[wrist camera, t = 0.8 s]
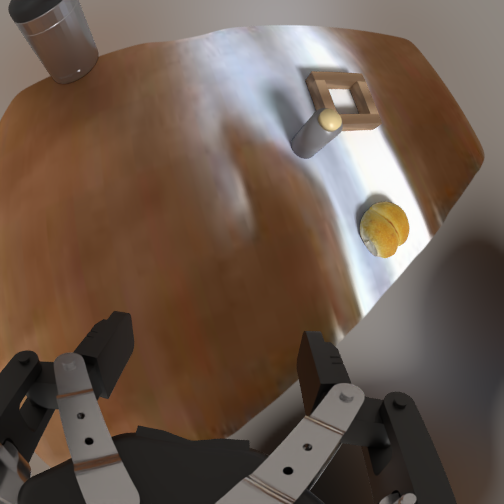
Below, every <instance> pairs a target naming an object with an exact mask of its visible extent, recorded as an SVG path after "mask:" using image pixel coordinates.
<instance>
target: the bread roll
mask: <svg viewBox="0 0 504 504" xmlns="http://www.w3.org/2000/svg"><path fill="white" fill-rule="evenodd" d="M408 234H409V223H408V219H407V216H406V214H405V212H404V211H403V210H402V209H401V208H400V207H399V206H398V205H396V204H393V203H390V202H378V203H376V204H373V205H372V206H371V207H370V208H369V210H367V211H366V212H365V214H364V215H363V217H362V220H361V223H360V236H361V238H362V240H363V241H364V244H365V246H366V247H367V248H368V250H369V251H370V252H371V253H372V254H373V255H374V256H377V257H382V258H388V257H390V256H392V255H394V254H395V252H396V250H397V247H398V246H400V245H402V244H403V243H404V242H405V241H406V240H407V237H408Z"/></svg>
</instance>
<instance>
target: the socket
mask: <svg viewBox="0 0 504 504" xmlns="http://www.w3.org/2000/svg"><path fill="white" fill-rule="evenodd" d="M306 84H307V86H308V89H309V92H310V95H311V97H312V100H313V103H314V106H315V109H316V111H317V110H318V109H321V108H328V109H333V110H335V111H336V108H335V106H334V103H333V100H332V98H331V95H330V92H329V90H328V89H350V91H351V94H352V96H353V99H354V101H355V104H356V107H357V109H358V112H359V114H339V115H340V116H341V119H342V124H343V127H342V131H354V130H373V129H375V128H376V127H378V126H379V125H380V124H382V122H381V119H380V116H379V114H378V111H377V108H376V106H375V103H374V101H373V98H372V96H371V93H370V91H369V89H368V86H367V84H366V82H365V79H364V77H363V75H362V74H359V73H344V72H315V71H312V72H311V73H310V75H309V76H308V78H307V79H306ZM336 112H337V111H336Z"/></svg>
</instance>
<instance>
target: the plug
mask: <svg viewBox="0 0 504 504" xmlns="http://www.w3.org/2000/svg"><path fill="white" fill-rule="evenodd" d="M342 127H343V124H342V119H341V116H340V115H339V114H338V113H337V112H336V111H335V110H333V109H328V108H321V109H318V110H317V111H316V112H315V113H314V114H313V115H312V117H311V118H310V119H309V120H308V121H307V122H306V124H305V125H304V126H303V127H302V128H301V130H300V131H299V132H298V133H297V134H296V136H295V137H294V138H293V139H292V142H291V147H292V150H293V152H294V153H295V154H296V155H297V156H299V157H301V158H304V159H308V158H311V157H312V156H314V155H315V154H316V153H317V152H318V151H319V150H321V149H322V148H323V147H324V146H325V145H327V144H328V143H329V142H330V141H331V140H332V139H334V138H335V137H336V136H337V135H338V134H339V133H340V132H341V131H342Z"/></svg>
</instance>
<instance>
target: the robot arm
mask: <svg viewBox="0 0 504 504" xmlns="http://www.w3.org/2000/svg"><path fill="white" fill-rule="evenodd" d="M9 14H10V16H11V17H12V19H13V20H14V22H15V24H16V25H17V26H18V28H19V30H20V31H21V33H22V34H23V36H24V37H25V39H26V40H27V42H28V43H29V45H30V46H31V48H32V49H33V51H34V52H35V54H36V55H37V57H38V58H39V59H40V61H41V62H42V64H43V65H44V67H45V68H46V70H47V71H48V72H49V74H50V75H51V77H52V78H53V79H54V80H55V81H56V82H57V83H61V84H65V83H70V82H74V81H76V80H78V79H80V78H81V77H83V76H84V75H85V74H87V73H88V72H89V71H90V70H91V69H92V68H93V66H94V65H95V63H96V61H97V59H98V50H97V47H96V45H95V42H94V40H93V37H92V34H91V32H90V29H89V27H88V24H87V21H86V19H85V16H84V14H83V11H82V8H81V5H80V3H79V0H11V2H10V5H9ZM133 349H134V336H133V329H132V320H131V315H130V314H129V313H125V312H118V311H114V312H113V313H112V314H111V315H110V317H109V318H108V319H107V320H105V319H103V320H102V321H100V322H98V323H97V324H95V325H94V327H93V328H92V329H91V332H89V333H88V334H87V337H85V338H84V339H83V341H82V342H81V343H80V344H79V346H78V347H77V348H76V350H75V351H74V352H73V353H64V354H62V355H60V356H58V357H57V358H56V359H55V361H54V362H40V361H39V358H38V356H37V354H36V353H35V352H33V351H22V352H19V353H17V354H16V355H15V356H14V357H13V358H12V359H11V360H10V362H9V363H8V364H7V365H6V366H5V368H4V369H3V370H2V371H1V373H0V504H324V503H323V502H322V501H321V500H319V499H318V498H317V497H316V496H315V495H314V494H313V493H311V492H310V489H311V488H312V487H313V485H314V484H315V482H316V481H317V480H318V478H319V477H320V475H321V474H322V472H323V471H324V469H325V468H326V466H327V465H328V464H329V462H330V460H331V459H332V458H333V456H334V454H335V453H336V452H337V450H338V448H339V447H340V445H341V444H342V443H346V444H353V445H359V446H361V447H362V451H363V455H364V460H365V464H366V468H367V473H368V477H369V482H370V486H371V491H372V496H373V501H374V504H457V503H456V500H455V497H454V494H453V492H452V489H451V487H450V484H449V481H448V478H447V476H446V473H445V471H444V468H443V466H442V463H441V461H440V458H439V456H438V454H437V451H436V449H435V447H434V444H433V442H432V440H431V437H430V435H429V433H428V431H427V428H426V426H425V424H424V422H423V420H422V417H421V415H420V413H419V411H418V409H417V407H416V405H415V403H414V401H413V399H412V398H411V397H410V396H408V395H407V394H405V393H401V392H391V393H389V394H387V395H386V396H385V398H384V400H380V399H373V398H368V397H365V396H364V393H363V392H362V390H361V389H360V388H359V387H357V386H355V385H353V384H351V381H350V379H349V376H348V373H347V371H346V368H345V366H344V364H343V361H342V359H341V356H340V354H339V351H338V349H337V348H336V347H335V346H334V345H333V344H332V343H331V342H324V339H323V336H322V334H321V332H316V331H304V333H303V336H302V340H301V345H300V349H299V354H298V358H297V372H298V377H299V382H300V387H301V393H302V398H303V403H304V408H305V413H306V416H305V417H304V418H303V419H302V420H301V422H300V423H299V424H298V425H297V426H296V427H295V429H294V430H293V431H292V432H291V433H290V434H289V436H288V437H287V438H286V439H285V440H284V441H283V442H282V443H281V444H280V445H279V447H278V448H277V449H276V450H275V451H274V452H273V453H272V454H271V455H270V456H269V455H267V454H265V453H263V452H261V451H258V450H255V449H252V448H249V440H233V439H211V440H198V441H191V440H187V439H185V438H182V437H179V436H176V435H174V434H171V433H169V432H166V431H163V430H158V429H153V428H148V427H143V426H138V428H137V431H136V433H124V434H120V435H116V436H113V437H111V436H110V434H109V431H108V429H107V426H106V424H105V421H104V419H103V416H102V414H101V411H100V408H99V406H98V403H97V400H98V398H99V397H103V398H107V399H109V397H110V395H111V393H112V391H113V389H114V387H115V385H116V383H117V381H118V379H119V377H120V375H121V373H122V371H123V369H124V367H125V365H126V364H127V362H128V360H129V358H130V356H131V354H132V352H133ZM25 395H26V396H27V399H26V400H25V402H24V404H23V405H22V407H21V408H20V409H19V407H20V403H21V401H22V400H23V398H24V397H25ZM55 409H59V412H60V417H61V421H62V425H63V429H64V433H65V437H66V441H67V444H68V448H69V451H70V454H71V457H72V458H71V459H69V460H67V461H65V462H63V463H61V464H59V465H57V466H55V467H52V468H50V469H48V470H46V471H44V472H42V473H40V474H37V475H35V476H33V477H31V478H30V476H31V468H30V466H29V462H30V459H31V457H32V455H33V453H34V451H35V449H36V447H37V444H38V442H39V440H40V438H41V436H42V434H43V432H44V430H45V428H46V426H47V424H48V422H49V420H50V418H51V417H52V415H53V413H54V411H55Z"/></svg>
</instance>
